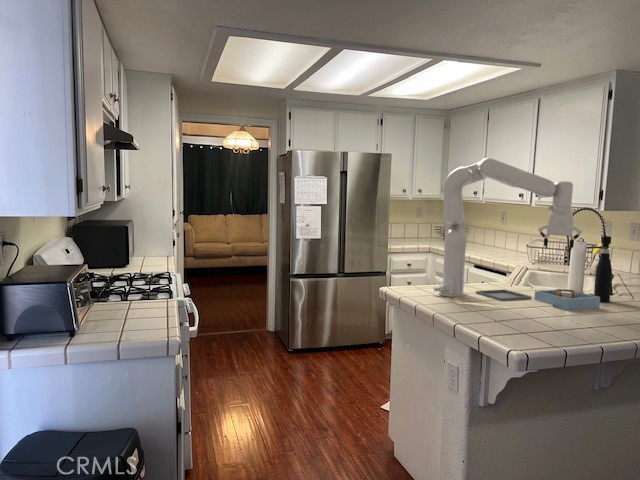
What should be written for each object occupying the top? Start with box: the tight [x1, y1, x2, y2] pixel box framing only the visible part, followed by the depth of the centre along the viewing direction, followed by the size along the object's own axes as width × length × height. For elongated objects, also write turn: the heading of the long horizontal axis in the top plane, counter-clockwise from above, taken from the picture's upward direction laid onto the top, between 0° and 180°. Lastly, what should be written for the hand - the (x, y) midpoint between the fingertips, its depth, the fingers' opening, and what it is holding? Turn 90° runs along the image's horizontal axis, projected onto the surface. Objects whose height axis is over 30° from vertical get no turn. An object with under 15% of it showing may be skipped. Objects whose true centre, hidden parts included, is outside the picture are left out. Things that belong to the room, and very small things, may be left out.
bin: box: [534, 289, 601, 312], centre depth 212 cm, size 18×18×5 cm
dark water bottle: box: [593, 235, 613, 303], centre depth 222 cm, size 6×6×30 cm
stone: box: [560, 291, 572, 299], centre depth 212 cm, size 4×4×4 cm
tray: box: [475, 289, 532, 302], centre depth 223 cm, size 17×17×2 cm
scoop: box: [555, 288, 577, 298], centre depth 212 cm, size 7×12×5 cm, turn 159°
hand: (558, 248), depth 214 cm, fingers open, 9 cm apart
